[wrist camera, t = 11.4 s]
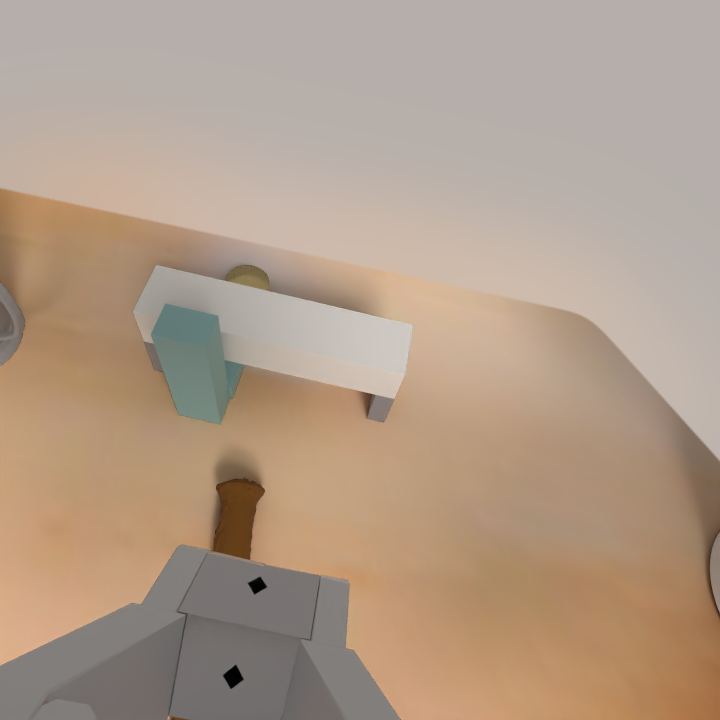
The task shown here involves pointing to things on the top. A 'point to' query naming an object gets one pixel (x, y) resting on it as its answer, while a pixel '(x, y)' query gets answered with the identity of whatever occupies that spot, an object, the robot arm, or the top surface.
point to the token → (249, 277)
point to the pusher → (195, 362)
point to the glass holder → (9, 325)
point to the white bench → (287, 334)
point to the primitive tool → (236, 519)
